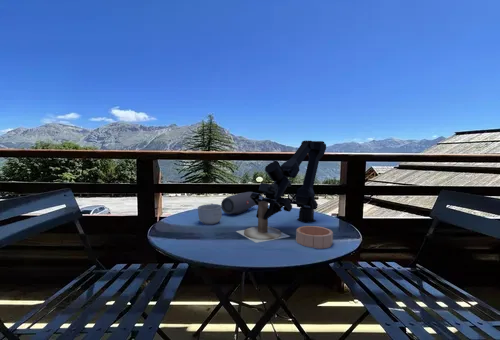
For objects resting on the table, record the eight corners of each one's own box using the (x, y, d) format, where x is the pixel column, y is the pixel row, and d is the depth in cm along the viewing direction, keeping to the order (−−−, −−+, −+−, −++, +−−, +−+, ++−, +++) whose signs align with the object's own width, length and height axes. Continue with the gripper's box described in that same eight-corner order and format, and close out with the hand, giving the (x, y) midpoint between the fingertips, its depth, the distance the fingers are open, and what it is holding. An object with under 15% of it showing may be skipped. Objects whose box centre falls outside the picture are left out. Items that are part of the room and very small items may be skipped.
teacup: (217, 227, 131) (217, 209, 130) (194, 225, 133) (193, 207, 132) (226, 219, 144) (226, 202, 144) (204, 217, 147) (204, 201, 146)
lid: (267, 226, 131) (268, 197, 130) (288, 236, 118) (289, 203, 117) (237, 231, 124) (237, 200, 122) (256, 242, 111) (257, 207, 110)
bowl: (315, 235, 121) (315, 224, 121) (339, 245, 110) (340, 233, 110) (289, 240, 115) (289, 228, 114) (312, 251, 104) (313, 238, 103)
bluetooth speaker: (235, 217, 148) (235, 197, 147) (220, 215, 153) (220, 195, 152) (258, 209, 167) (258, 191, 166) (244, 207, 172) (244, 190, 171)
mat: (267, 227, 132) (267, 226, 132) (290, 237, 118) (290, 236, 118) (235, 232, 124) (235, 231, 124) (256, 243, 110) (256, 242, 110)
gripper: (253, 173, 128) (234, 202, 121) (288, 177, 115) (269, 210, 108) (264, 190, 135) (247, 218, 128) (299, 195, 122) (282, 227, 115)
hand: (260, 218), depth 119 cm, fingers closed on lid, 3 cm apart
